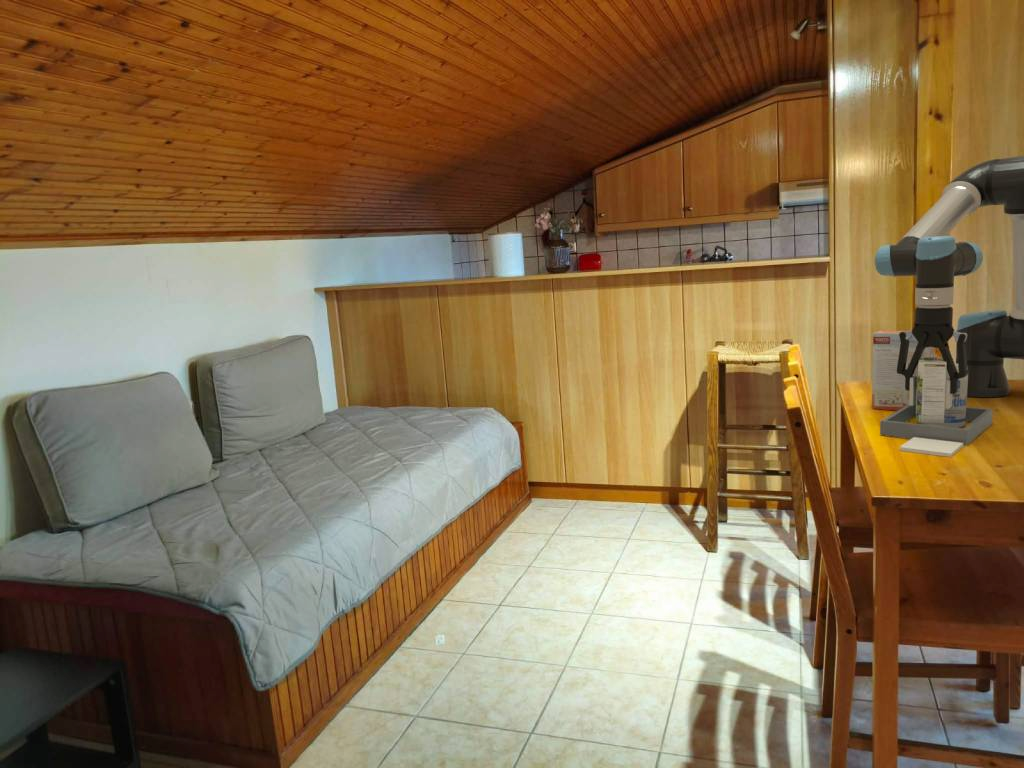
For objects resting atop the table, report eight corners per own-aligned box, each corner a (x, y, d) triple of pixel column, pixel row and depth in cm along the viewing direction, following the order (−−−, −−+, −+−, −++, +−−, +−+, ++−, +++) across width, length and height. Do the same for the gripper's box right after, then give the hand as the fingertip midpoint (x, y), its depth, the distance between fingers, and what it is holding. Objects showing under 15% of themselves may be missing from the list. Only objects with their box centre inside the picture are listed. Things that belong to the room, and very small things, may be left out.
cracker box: (934, 409, 202) (937, 330, 198) (928, 414, 197) (931, 333, 194) (877, 404, 211) (880, 329, 207) (870, 409, 207) (872, 331, 203)
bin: (911, 415, 197) (911, 402, 196) (992, 423, 185) (993, 409, 184) (880, 435, 180) (880, 420, 179) (966, 445, 168) (967, 430, 167)
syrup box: (915, 417, 181) (916, 356, 178) (944, 418, 178) (945, 356, 176) (916, 423, 176) (917, 361, 173) (945, 424, 173) (947, 361, 171)
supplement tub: (946, 431, 180) (949, 370, 177) (911, 424, 188) (913, 365, 186) (974, 426, 184) (978, 365, 181) (939, 418, 192) (941, 360, 190)
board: (913, 440, 174) (913, 437, 174) (963, 446, 167) (963, 442, 167) (899, 450, 167) (899, 447, 167) (950, 457, 160) (950, 453, 160)
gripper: (881, 307, 176) (879, 405, 180) (980, 308, 163) (975, 413, 167) (892, 304, 182) (889, 398, 186) (988, 304, 168) (983, 406, 172)
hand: (930, 405), depth 176 cm, fingers closed on syrup box, 7 cm apart
